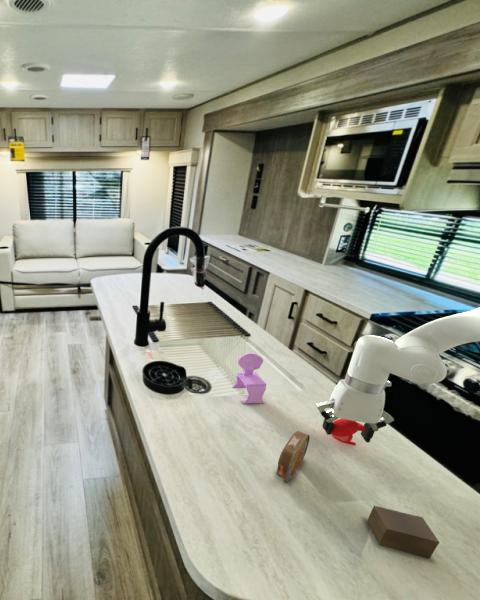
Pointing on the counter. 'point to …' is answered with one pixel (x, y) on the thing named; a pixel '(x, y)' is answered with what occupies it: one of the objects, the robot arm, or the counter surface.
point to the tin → (292, 455)
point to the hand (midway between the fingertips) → (345, 434)
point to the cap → (346, 430)
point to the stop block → (402, 532)
